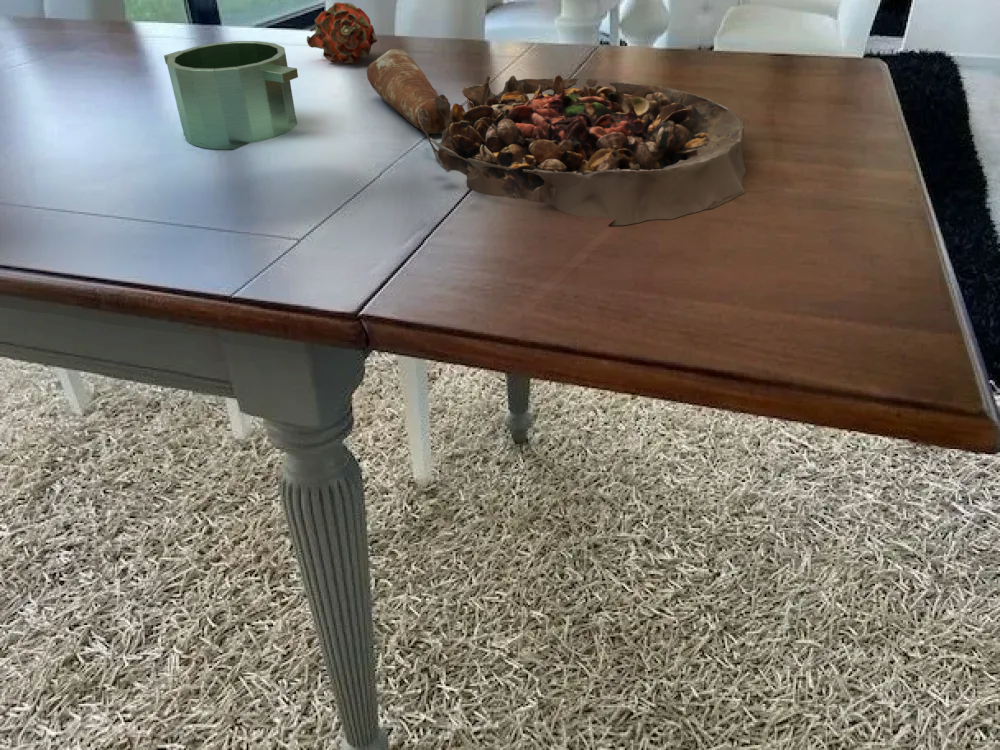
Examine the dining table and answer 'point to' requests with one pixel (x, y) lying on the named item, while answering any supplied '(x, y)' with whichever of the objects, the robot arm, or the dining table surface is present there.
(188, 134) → the pot
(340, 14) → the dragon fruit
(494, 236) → the dining table surface
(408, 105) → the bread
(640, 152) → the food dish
